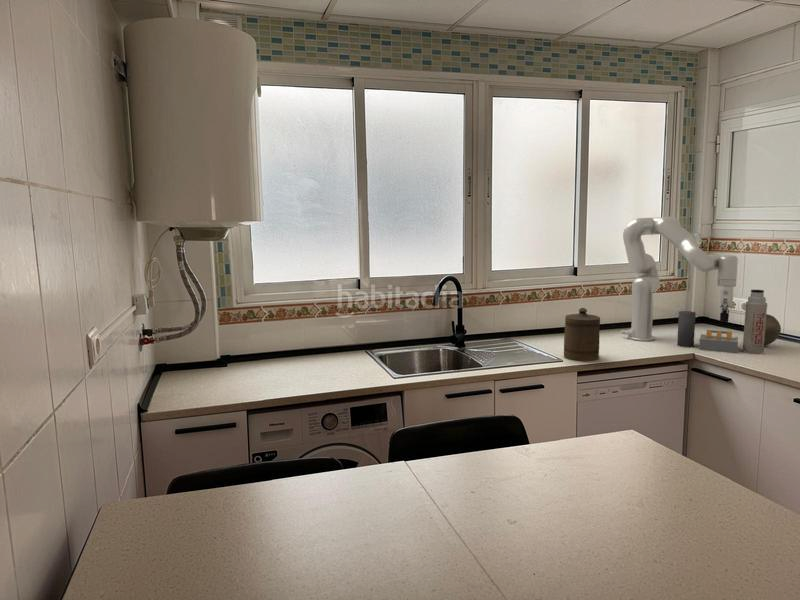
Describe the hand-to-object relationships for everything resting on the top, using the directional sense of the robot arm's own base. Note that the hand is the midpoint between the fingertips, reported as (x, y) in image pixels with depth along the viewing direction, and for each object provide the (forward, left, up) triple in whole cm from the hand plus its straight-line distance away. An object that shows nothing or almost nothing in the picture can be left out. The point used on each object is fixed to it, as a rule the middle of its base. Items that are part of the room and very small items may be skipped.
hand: (724, 320), depth 257 cm
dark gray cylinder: (-14, +6, -14) cm, 20 cm away
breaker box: (-2, +1, -14) cm, 14 cm away
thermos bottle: (+11, -4, -14) cm, 18 cm away
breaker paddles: (-2, +1, -9) cm, 9 cm away
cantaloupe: (+20, +8, -14) cm, 25 cm away
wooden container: (-66, -20, -14) cm, 70 cm away
